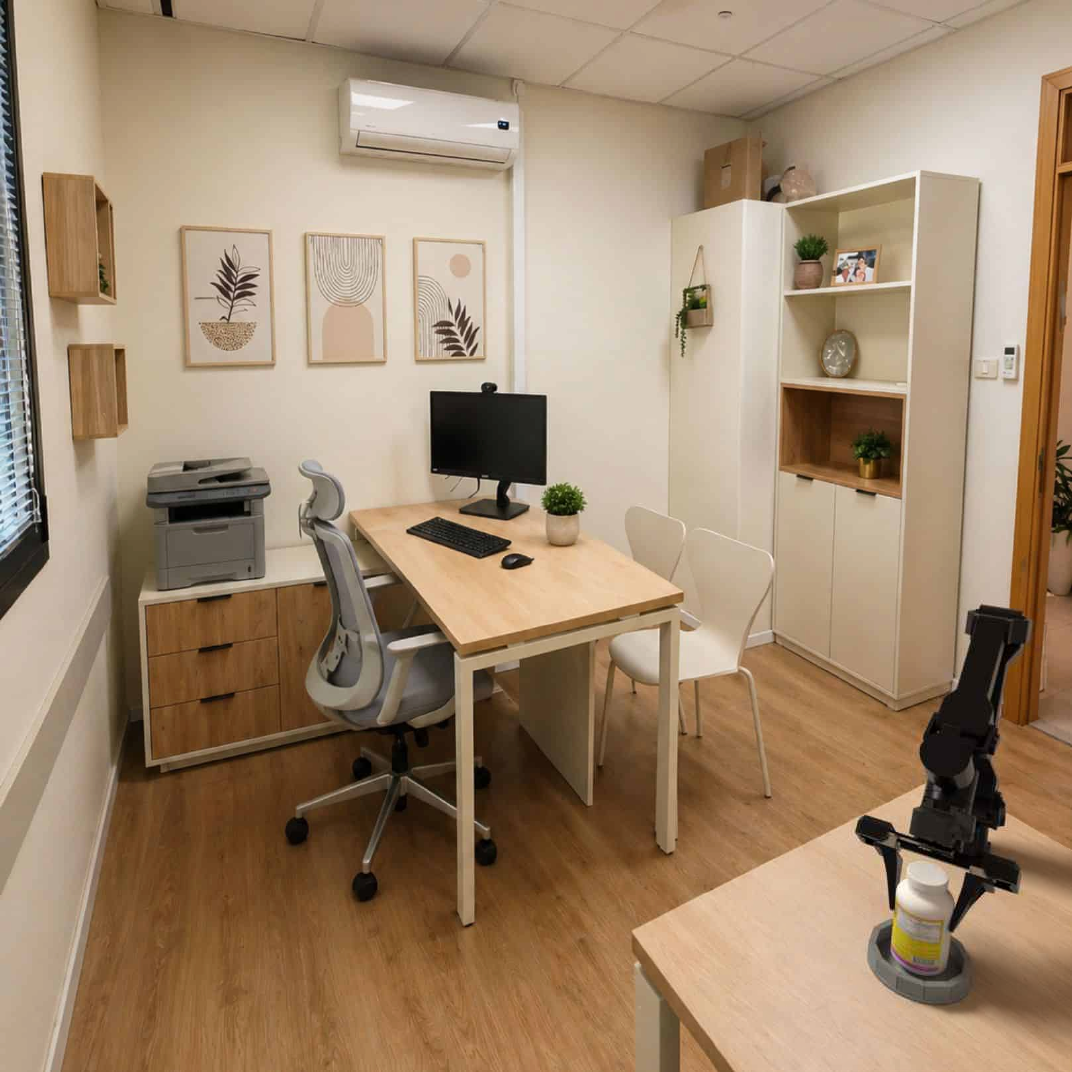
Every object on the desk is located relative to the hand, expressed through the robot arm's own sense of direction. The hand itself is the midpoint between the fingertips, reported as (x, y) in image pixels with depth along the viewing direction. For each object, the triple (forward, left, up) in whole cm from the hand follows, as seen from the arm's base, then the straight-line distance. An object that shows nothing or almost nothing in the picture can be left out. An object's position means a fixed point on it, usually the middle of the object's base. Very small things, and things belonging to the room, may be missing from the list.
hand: (920, 920), depth 102 cm
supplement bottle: (-1, 0, -7) cm, 7 cm away
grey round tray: (-1, 0, -8) cm, 8 cm away
